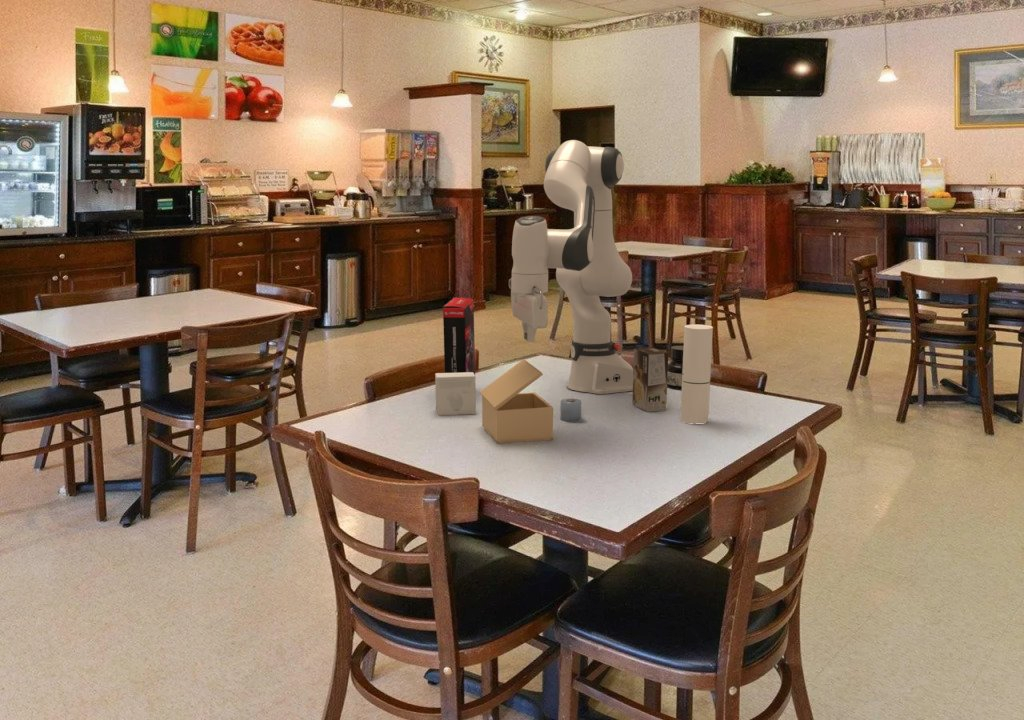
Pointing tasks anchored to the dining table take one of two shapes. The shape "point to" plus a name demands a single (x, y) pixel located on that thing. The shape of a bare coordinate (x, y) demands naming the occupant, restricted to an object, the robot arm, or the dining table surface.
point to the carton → (519, 419)
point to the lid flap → (510, 383)
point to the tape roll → (570, 410)
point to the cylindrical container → (696, 373)
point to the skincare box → (455, 393)
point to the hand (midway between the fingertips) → (529, 340)
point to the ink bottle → (675, 368)
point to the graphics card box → (459, 336)
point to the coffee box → (650, 379)
